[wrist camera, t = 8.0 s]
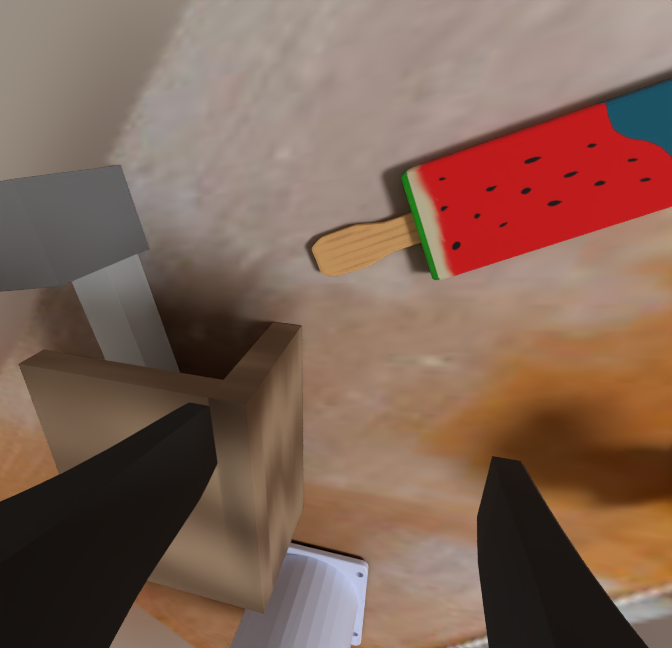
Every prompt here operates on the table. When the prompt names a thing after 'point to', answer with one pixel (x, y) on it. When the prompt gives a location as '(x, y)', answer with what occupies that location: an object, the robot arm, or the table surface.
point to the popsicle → (525, 189)
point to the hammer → (85, 256)
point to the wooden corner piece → (231, 449)
